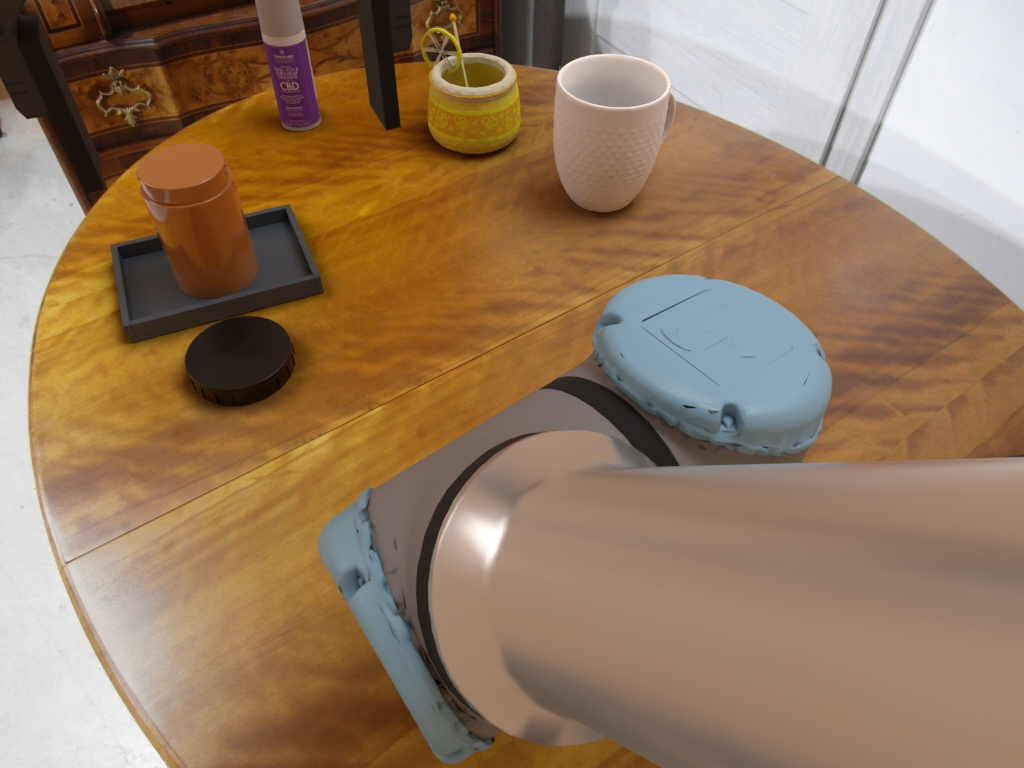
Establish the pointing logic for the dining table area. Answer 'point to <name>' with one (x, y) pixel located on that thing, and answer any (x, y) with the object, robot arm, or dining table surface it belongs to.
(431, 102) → the yellow honey pot
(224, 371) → the jar lid
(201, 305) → the tray
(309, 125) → the container
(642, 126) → the mug
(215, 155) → the jar
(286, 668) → the dining table surface
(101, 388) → the dining table surface
